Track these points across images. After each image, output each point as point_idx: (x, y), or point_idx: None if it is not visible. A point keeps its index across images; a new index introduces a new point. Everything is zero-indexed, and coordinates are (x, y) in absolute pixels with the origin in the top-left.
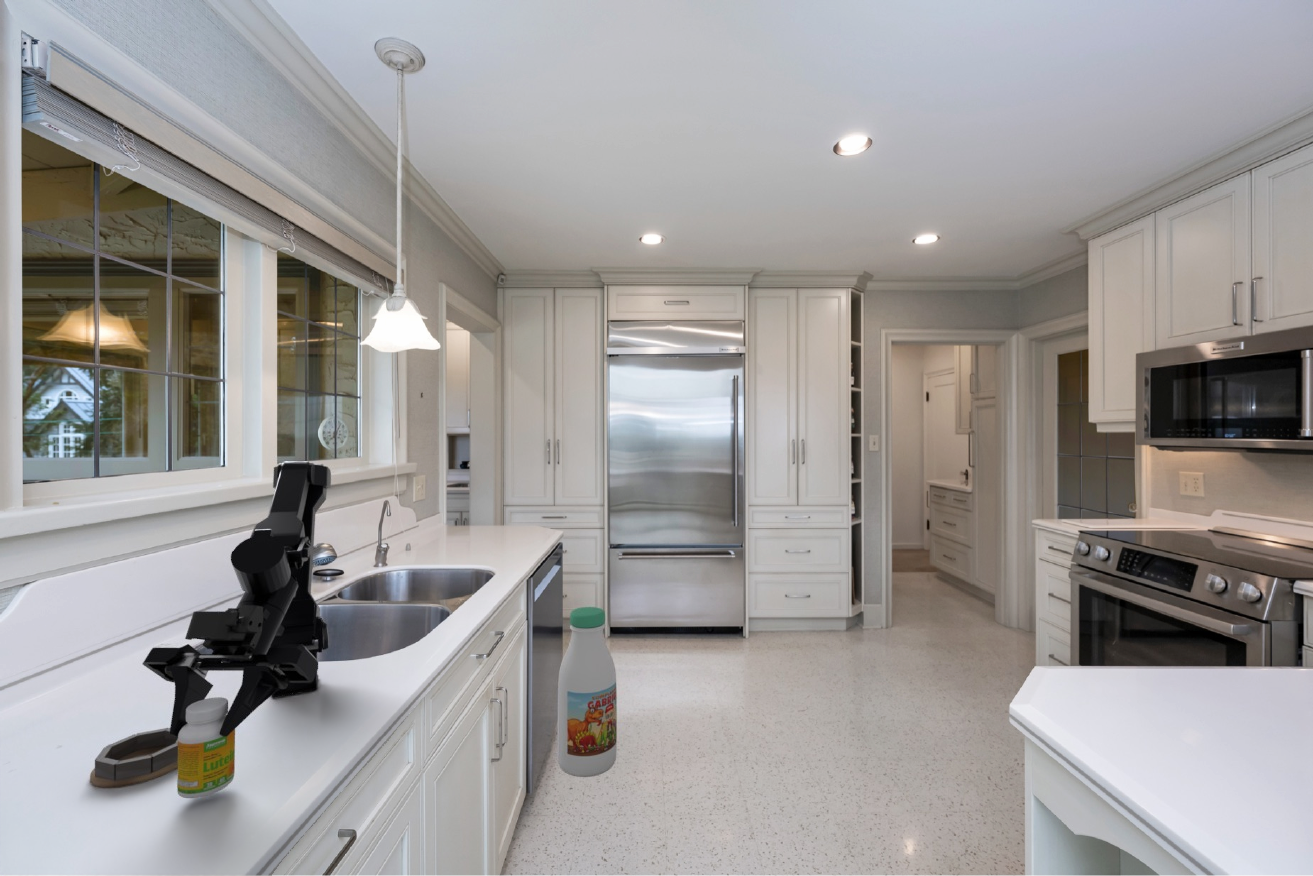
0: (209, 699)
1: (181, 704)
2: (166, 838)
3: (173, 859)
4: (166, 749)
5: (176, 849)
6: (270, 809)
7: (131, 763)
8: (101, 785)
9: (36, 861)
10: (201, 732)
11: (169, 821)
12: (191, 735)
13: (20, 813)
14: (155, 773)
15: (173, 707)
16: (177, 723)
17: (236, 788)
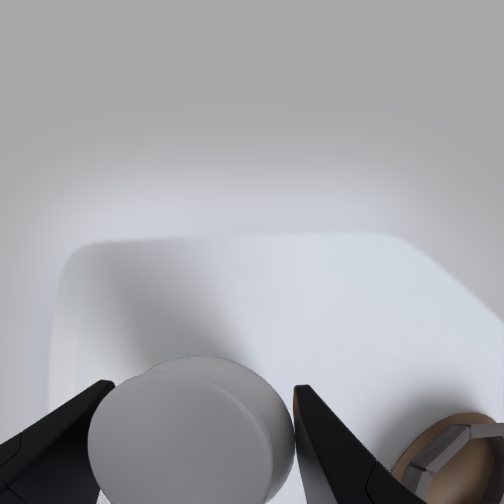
0: None
1: (326, 461)
2: (210, 295)
3: (162, 249)
4: None
5: (173, 270)
6: (87, 368)
7: (448, 444)
8: (463, 413)
9: (370, 239)
10: (161, 370)
11: (245, 341)
12: (195, 362)
13: (500, 331)
14: (400, 464)
15: (365, 447)
16: (297, 409)
17: None
